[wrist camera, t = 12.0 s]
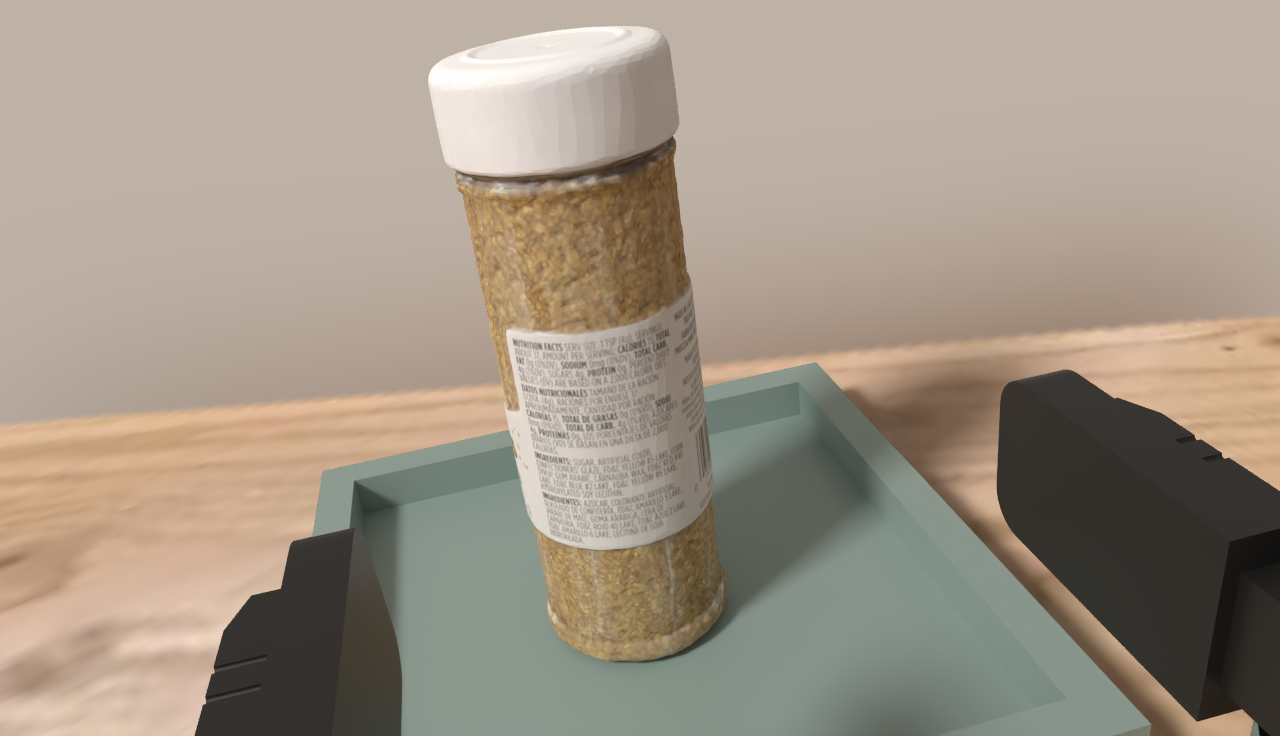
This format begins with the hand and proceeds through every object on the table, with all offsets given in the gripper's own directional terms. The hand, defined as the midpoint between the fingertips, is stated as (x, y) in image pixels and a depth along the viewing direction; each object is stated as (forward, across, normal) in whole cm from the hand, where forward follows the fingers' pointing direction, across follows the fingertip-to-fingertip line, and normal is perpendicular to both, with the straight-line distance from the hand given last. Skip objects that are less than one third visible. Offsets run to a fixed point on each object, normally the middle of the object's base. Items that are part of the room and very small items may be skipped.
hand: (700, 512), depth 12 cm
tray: (+9, 0, +9) cm, 13 cm away
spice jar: (+9, 0, +9) cm, 13 cm away
